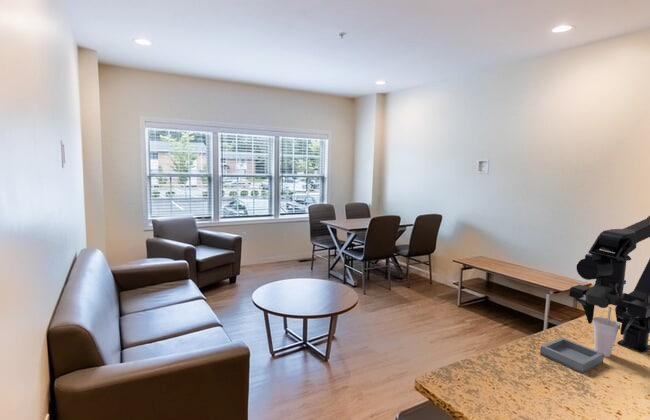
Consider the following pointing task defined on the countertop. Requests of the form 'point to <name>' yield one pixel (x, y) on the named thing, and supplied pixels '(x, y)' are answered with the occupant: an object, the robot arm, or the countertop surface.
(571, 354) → the tray
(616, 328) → the smoothie
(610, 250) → the robot arm
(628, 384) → the countertop surface
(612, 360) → the countertop surface
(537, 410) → the countertop surface
